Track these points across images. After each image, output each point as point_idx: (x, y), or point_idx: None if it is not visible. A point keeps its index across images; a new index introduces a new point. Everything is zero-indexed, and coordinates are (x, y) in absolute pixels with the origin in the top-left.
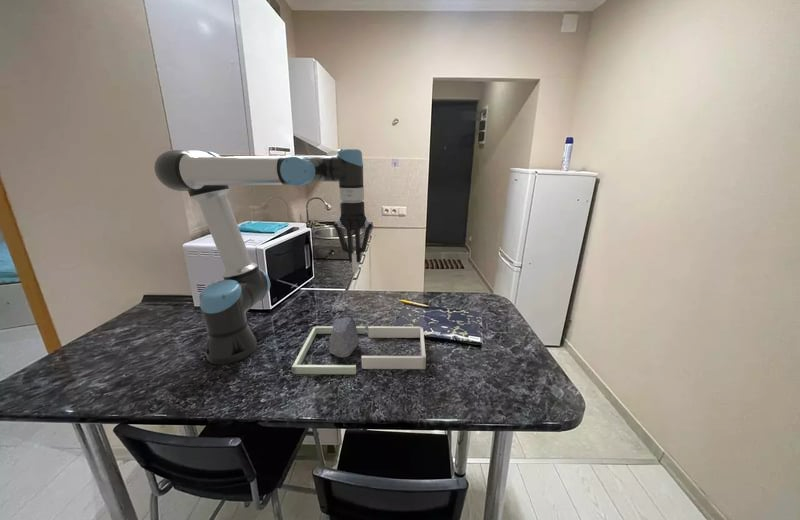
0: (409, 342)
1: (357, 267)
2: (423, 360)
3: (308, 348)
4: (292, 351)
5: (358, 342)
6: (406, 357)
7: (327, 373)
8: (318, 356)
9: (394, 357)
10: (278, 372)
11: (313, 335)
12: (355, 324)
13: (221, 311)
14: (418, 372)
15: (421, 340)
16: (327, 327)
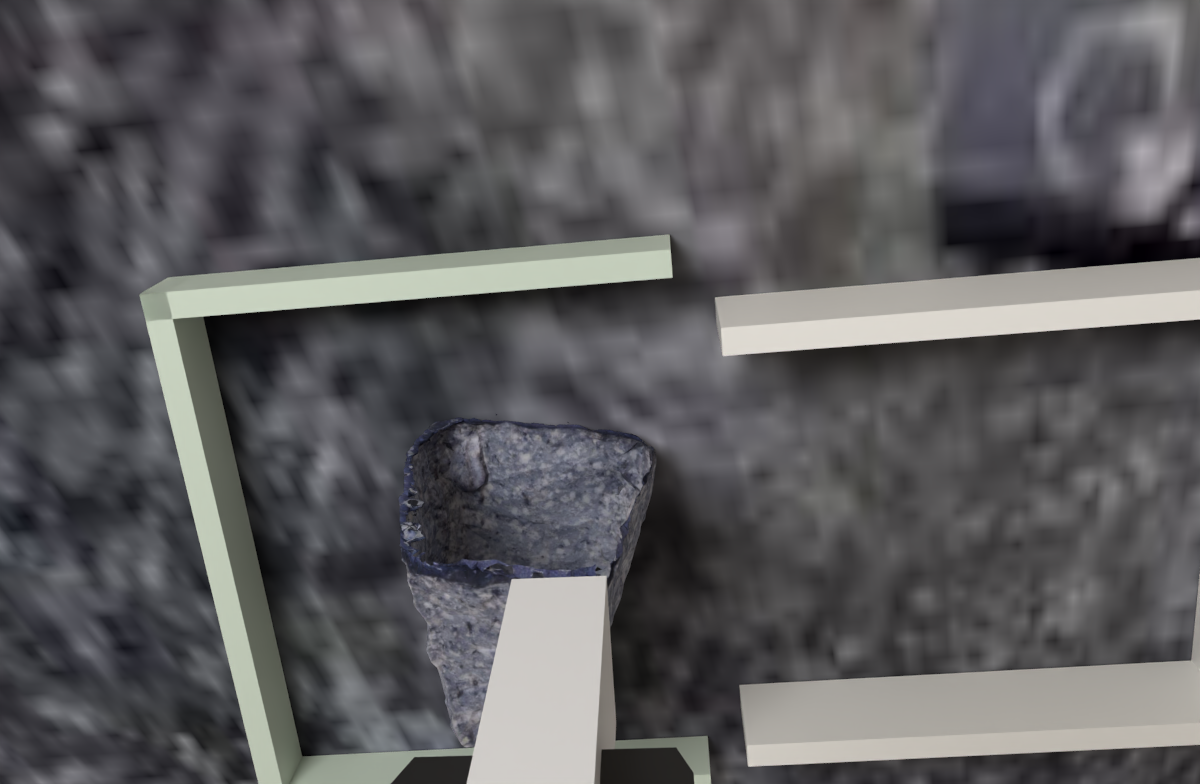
0: (1115, 364)
1: (609, 707)
2: None
3: (247, 531)
4: (138, 559)
5: (654, 470)
6: (1106, 744)
7: None
8: (371, 601)
9: (1009, 750)
10: (182, 767)
11: (204, 396)
12: (627, 531)
13: None
14: None
15: None
16: (286, 305)
